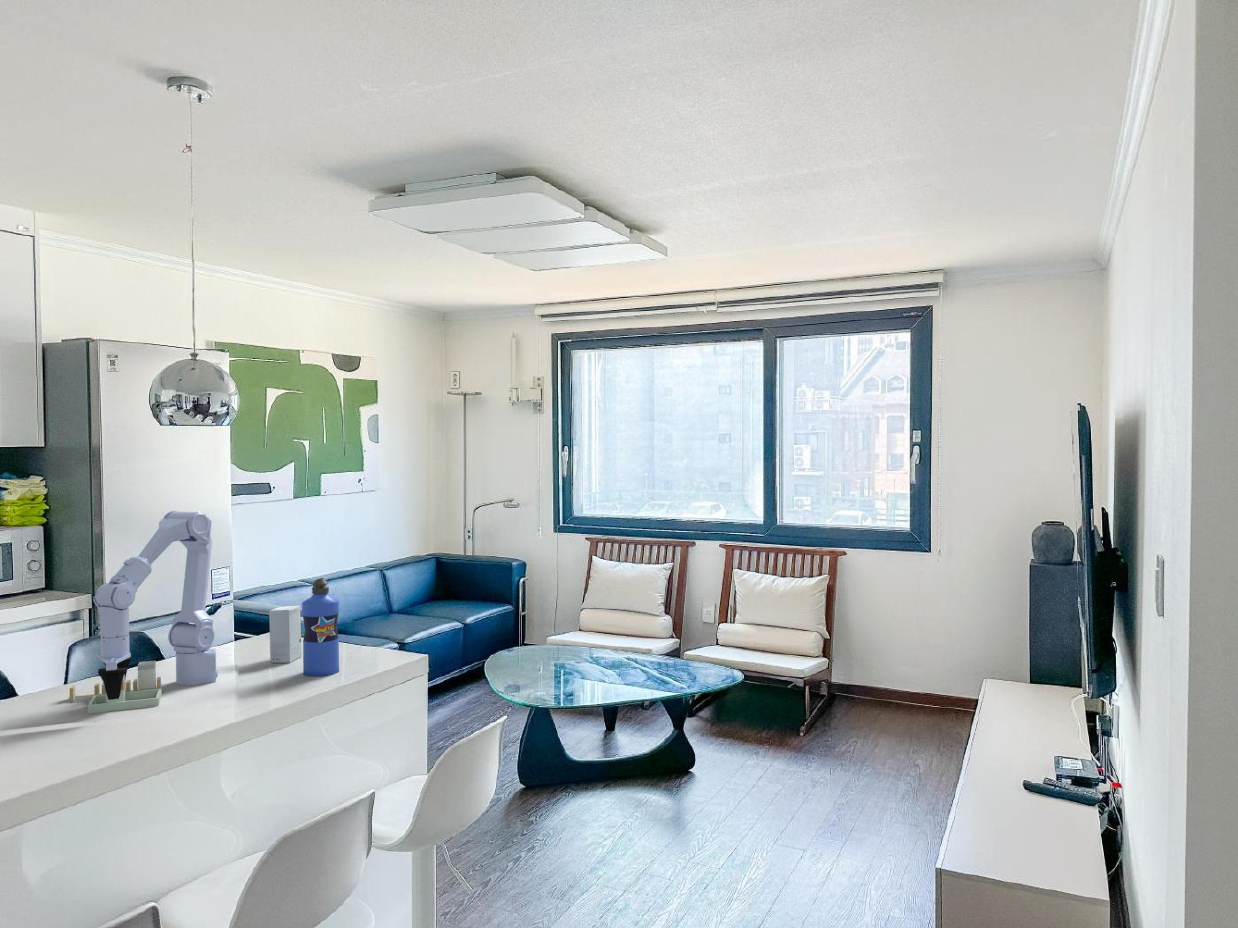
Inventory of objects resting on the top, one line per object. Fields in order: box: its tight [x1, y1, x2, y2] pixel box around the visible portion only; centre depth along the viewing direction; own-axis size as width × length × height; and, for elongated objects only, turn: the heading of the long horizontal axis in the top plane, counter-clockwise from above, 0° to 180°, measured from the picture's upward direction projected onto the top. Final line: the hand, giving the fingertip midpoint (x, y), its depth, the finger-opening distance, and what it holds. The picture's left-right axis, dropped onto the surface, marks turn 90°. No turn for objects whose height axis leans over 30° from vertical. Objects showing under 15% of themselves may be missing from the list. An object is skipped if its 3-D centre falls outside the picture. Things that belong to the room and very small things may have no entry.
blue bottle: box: [301, 577, 340, 678], centre depth 233 cm, size 9×9×25 cm
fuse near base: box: [137, 660, 157, 691], centre depth 211 cm, size 4×4×7 cm
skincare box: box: [268, 605, 303, 664], centre depth 247 cm, size 8×6×15 cm
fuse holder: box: [64, 676, 165, 705], centre depth 209 cm, size 20×6×4 cm, turn 113°
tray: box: [87, 688, 163, 714], centre depth 201 cm, size 14×9×3 cm, turn 113°
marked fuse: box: [105, 674, 126, 703], centre depth 200 cm, size 4×4×7 cm
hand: (115, 694), depth 201 cm, fingers open, 7 cm apart
